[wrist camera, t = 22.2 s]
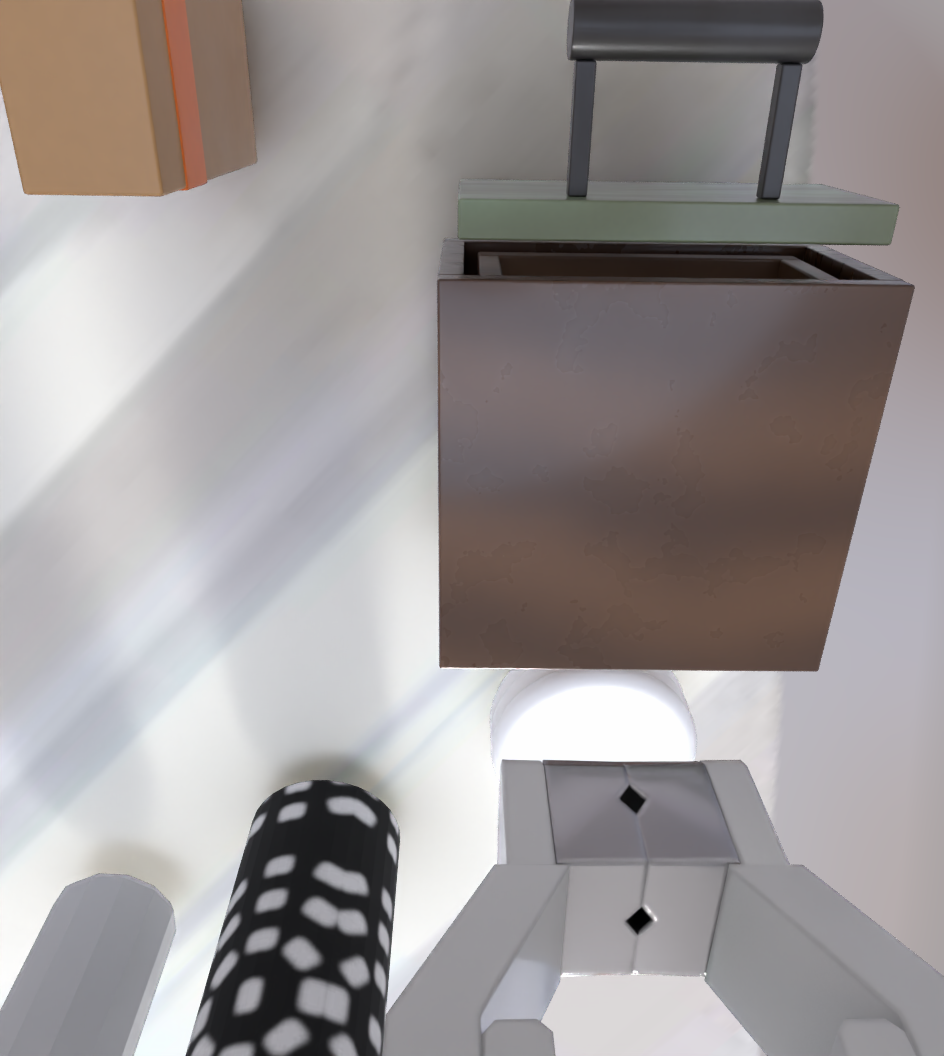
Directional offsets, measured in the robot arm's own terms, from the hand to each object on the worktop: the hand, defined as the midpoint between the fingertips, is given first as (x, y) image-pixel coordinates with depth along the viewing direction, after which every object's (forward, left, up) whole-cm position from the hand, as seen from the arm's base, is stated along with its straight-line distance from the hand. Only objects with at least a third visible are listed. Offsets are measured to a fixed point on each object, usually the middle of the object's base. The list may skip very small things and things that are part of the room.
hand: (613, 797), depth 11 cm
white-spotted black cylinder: (+29, -9, -27) cm, 41 cm away
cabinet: (+4, +5, -26) cm, 27 cm away
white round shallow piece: (+21, +5, -27) cm, 34 cm away
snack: (-8, -11, -26) cm, 30 cm away
